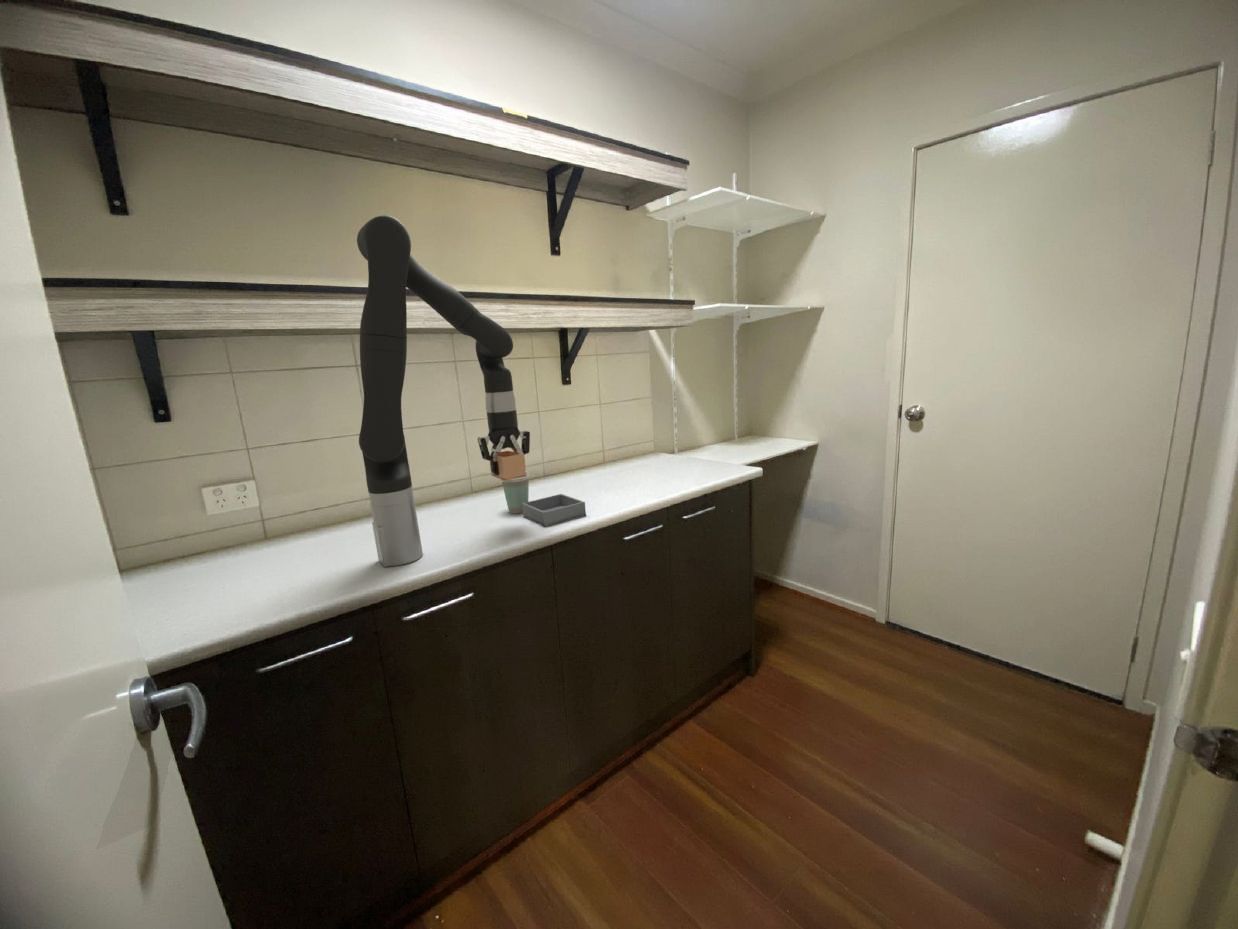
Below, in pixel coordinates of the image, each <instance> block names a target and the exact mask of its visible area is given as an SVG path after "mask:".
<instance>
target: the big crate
mask: <svg viewBox="0 0 1238 929" xmlns="http://www.w3.org/2000/svg"><path fill="white" fill-rule="evenodd" d="M522 509H523V513H522V516H523V517H524V518H526V519H527V520H529V521H532V522H534V523H536V524H539V525H540V526H542V527H545V528H546V527H549V526H553V525H554V526H555V525H557V524H560V523H564V522H568V521H571V520H575V519H578V518H582V517H585V516H586V515H587V514H586V513H587V512H586V502H585V501H583V500H581V499H577V498H574V497H572V496H569V495H566V494H563V493H559V494H554V495H551V496H547V497H542V498H538V499H535V500H530V501H529V500H528V502H525V503H522Z"/></svg>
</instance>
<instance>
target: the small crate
mask: <svg viewBox="0 0 1238 929" xmlns="http://www.w3.org/2000/svg"><path fill="white" fill-rule="evenodd" d="M489 454H491V452H489ZM497 458H498V459H497V461H498V468H499V475H497V476H496V475H494V473H492V471H491V464H490V463H489V467H490V468H489V469H490V475H491V477H493V478H494V477H495V478H496V479H497V478H498V479H500V480H501V479H502V480H505V481H506V480H511V479H516V478H521V477H526V471H527V469H526V468H527V467H526V457H525V455H524V454H523V453H519V452H518V453H517V452H514V451H513V450H512V449H511V450H509V449H508V450H503V451H502V450H501V452H500V454H499V456H497Z"/></svg>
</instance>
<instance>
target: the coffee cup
mask: <svg viewBox="0 0 1238 929" xmlns="http://www.w3.org/2000/svg"><path fill="white" fill-rule="evenodd" d="M529 479H530V474H529V472H528V471H527V470H526V477H521V478H516V479H511V480H506V481H505V480H502V479H500V482H501V484H502V488H503V492H504V496H505V501H506V506H507V509H508V510H507V511H508V513H509V514H514V515H515V514H516V515H517V514H523V509H522V503H525V502H529V492H530V490H529V489H530V488H529V487H530V486H529V485H530V484H529V482H530V481H529Z"/></svg>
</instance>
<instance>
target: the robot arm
mask: <svg viewBox="0 0 1238 929" xmlns="http://www.w3.org/2000/svg"><path fill="white" fill-rule="evenodd" d="M356 237H357V238H356V244H357V248H358V251H359V252H360V254H361V256H363V258H364V259H365V260H366V261H367V268H368V269H367V272H368V273H367V274H368V280H367V281H368V283H367V291H366V295H365V299H364V304H363V307H362V308H363V309H362V313H361V319H360V325H359V361H360V362H359V363H360V364H359V365H360V374H361V375H360V377H361V384H362V391H363V406H362V407H363V408H362V417H361V418H362V419H361V425H360V432H359V436H358V445H359V448H360V450H361V453H362V457H363V463H364V469H365V472H364V473H365V479H366V487H367V491H368V492H367V493H368V496H369V502H370V509H371V514H372V520H373V521H372V522H371V523H372V530H373V536H374V542H375V547H376V553H377V559H378V561H379V563H380V564H381V565H382V567H383V568H387V567H394V566H395V567H397V566H402V565H406V564H410V563H413V562H415V561H417V560H419V559H420V558H421V557H423V553H424V551H423V547H422V540H421V534H420V529H419V528H420V527H419V521H418V516H417V515H418V514H417V509H416V503H415V502H416V501H415V496H414V490H413V483H412V476H411V470H410V464H409V459H408V458H409V457H408V452H407V445H406V440H405V439H406V437H405V433H404V425H403V414H402V395H403V390H404V389H403V388H404V381H405V375H406V366H407V355H408V354H407V351H408V348H407V346H408V340H407V339H408V334H407V332H408V329H407V323H408V322H407V321H408V320H407V319H408V318H407V317H408V316H407V315H408V314H407V289H409V291H411V292H412V293H414V295H416V296H417V297H419V299H421V300H422V301H424V303H425V304H427V305H428V306H429V307H430V308H432V309H433V310H434V311H435V312H436V313H437V314H439V315H440V316H441V317H442V318H443V319H444V320H445V321H446V322H447V323H449V324H450V325H451V326H452V327H453V328H454V329H456V330H457V332H459V333H460V334H462V335H463V336H467V337H471V338H473V339H474V340H475V352H476V353H475V354H476V358H477V360H478V364H479V366H480V371H481V372H482V376H483V384H484V392H485V395H484V396H485V401H484V402H485V410H486V417H487V425H488V426H487V427H488V434H487V435H486V436H482V437H481V436H478V437H477V443H478V447H479V451H480V454H481V458H482V459H483V460H485V461H489V465H490V464H491V469H490V472H491V471H492V473H494V475H496V476H497V475H499V468H498V461H497V459H498V458H497V456H499V454H500V452H502V450H505V449H507V448H509V449H511V451H514V452H517V453H518V452H519V453H523V454H524V456H525V455H527V454H529V453H530V448H531V447H530V446H531V445H530V442H531V432H530V431H528V430H521V431H520V430H519V426H518V425H519V423H518V412H517V403H516V397H515V393H514V386H513V385H514V384H513V376H512V372H511V370H510V369H509V368H506V366H505V363H504V359H503V358H506V357H508V356H510V354H512V351H513V349H514V341H513V339H512V337H511V336H512V335H511V334H510V333H509V332H508V331H507V330H506V329H505V328H504V327H503V326H501V325H500V324H499V323H497V322H496V321H494V320H493V319H491V317H488V316H487V315H485V314H484V313H482V312H481V311H479V309H478V308H477V307H476V306H475V305H473V303H472V302H470V300H468V299H467V298H466V297H465V296H464V295H463V294H462V293H461V292H459V291H458V290H457V289H455V288H454V287H453V286H451V285H450V284H448V283H447V282H445V281H443V280H442V279H441V278H439V277H437V276H436V275H434V274H433V273H431V272H430V271H428V269H426V268H425V267H424V266H423V265H422V264H420V263H419V262H418V260H416V259H415V258H414V257H413V255H411V251H412V242H411V237H410V235H409V232H408V230H407V228H406V226H404V224H403V223H402V222H401V221H400V220H398V219H397V218H396V217H393V216H391V215H387V214H381V215H378V216H374V217H373V218H371V219H368V221H367V222H366V223H365V224H363V225H362V227H361V228H360V229H359V231H358V233H357V236H356ZM519 438H520V439H521V446H520V444H519V442H518V439H519ZM489 441H490V442H491V444H492V445H491V448H490V451H489V448H488V445H489ZM490 453H491V454H490Z"/></svg>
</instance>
